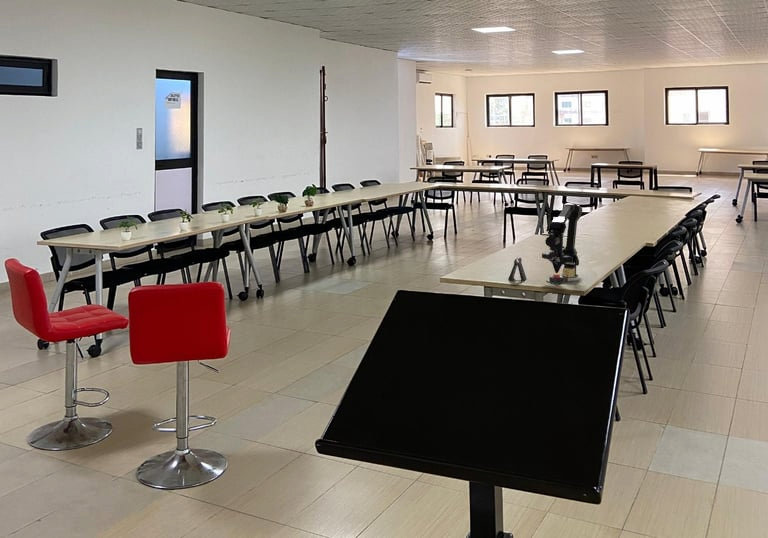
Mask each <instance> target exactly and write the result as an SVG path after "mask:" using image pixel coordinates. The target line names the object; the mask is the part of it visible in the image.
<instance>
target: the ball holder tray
mask: <svg viewBox="0 0 768 538" xmlns="http://www.w3.org/2000/svg"><path fill="white" fill-rule="evenodd" d="M579 278H580V277H579V276H575V277H574V278H565V277H563V275H560V278H553V275H552V276H549V279H548V280H546V282H547V283H550V284H554V285H559V283H561V284H568V283H574V282H579V281H580V279H579Z"/></svg>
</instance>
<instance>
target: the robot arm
mask: <svg viewBox="0 0 768 538" xmlns="http://www.w3.org/2000/svg"><path fill="white" fill-rule="evenodd" d="M582 214H583V207H582V206H581V205H578V204H577V205H576V204H575V203H574V204H573V203H565V204H563V208H562V209H561V211H560V213H559V214H558V216H557V217H555V218H553V220H552V221H551V222H550V224H549V228H548V232H547V235H548V236H546V238H545V245H546V246H547V247H548V248H549V249H547V250H546V251H543V252H542V254H541V259H545V260H547V261H549V262H550V263H551V265H552V267H553V270H554V272H555V273H554V274H559V272H560V270H561V268H562V266H563V268H573V269H575V276H576V277H579V275H578V274H577V266H579V265H580V260H579V256H578V251H577V250H576V248H575V246H576V236H577V226H578V221H579V220H580V219H581V216H582ZM567 222H568V224H566V223H567ZM566 229H567V232H566ZM565 232H566V233H567V234H566V243H565V246H564V234H565ZM561 276H563V273H561Z"/></svg>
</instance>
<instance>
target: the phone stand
mask: <svg viewBox="0 0 768 538" xmlns="http://www.w3.org/2000/svg"><path fill="white" fill-rule="evenodd" d="M522 260H523V259H522V257H516V258H515V259H514V260H513V266H512V269H511V271H510V274H509V276H508V280H507V281H513V282H525V281H527V275H526V273H525V270H524V266H523V264H522ZM517 268H518V273H519V276H520V277H515V274H516V271H517Z"/></svg>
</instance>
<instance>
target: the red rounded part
mask: <svg viewBox="0 0 768 538" xmlns="http://www.w3.org/2000/svg"><path fill="white" fill-rule="evenodd" d="M552 276H553V278H560V276H561V274H559V273H553V274H552Z"/></svg>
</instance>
